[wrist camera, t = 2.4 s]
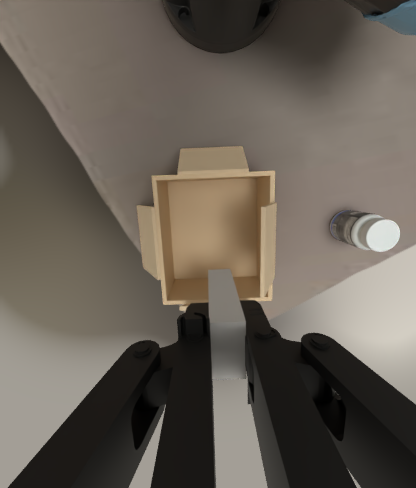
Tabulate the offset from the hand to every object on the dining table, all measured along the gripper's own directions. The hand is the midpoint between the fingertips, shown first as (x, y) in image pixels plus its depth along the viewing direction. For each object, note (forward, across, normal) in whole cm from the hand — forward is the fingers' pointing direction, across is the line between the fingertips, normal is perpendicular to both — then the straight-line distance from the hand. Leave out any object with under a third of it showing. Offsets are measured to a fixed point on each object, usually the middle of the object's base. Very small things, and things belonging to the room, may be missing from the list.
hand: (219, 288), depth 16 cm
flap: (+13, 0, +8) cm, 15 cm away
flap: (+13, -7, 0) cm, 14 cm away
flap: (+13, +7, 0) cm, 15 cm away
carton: (+21, 0, 0) cm, 21 cm away
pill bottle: (+21, +20, 0) cm, 29 cm away
